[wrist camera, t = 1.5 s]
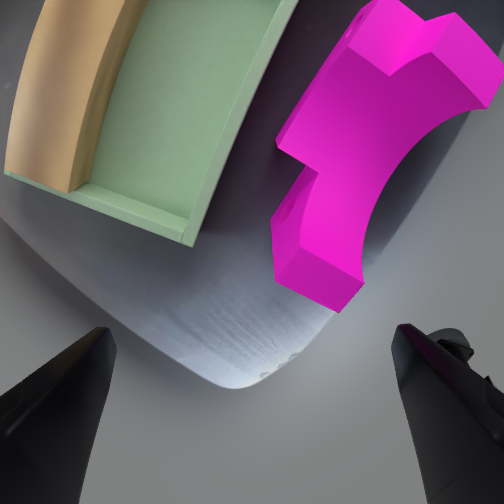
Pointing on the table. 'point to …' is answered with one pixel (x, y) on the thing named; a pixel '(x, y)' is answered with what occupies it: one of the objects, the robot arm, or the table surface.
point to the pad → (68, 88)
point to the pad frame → (178, 111)
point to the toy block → (368, 135)
